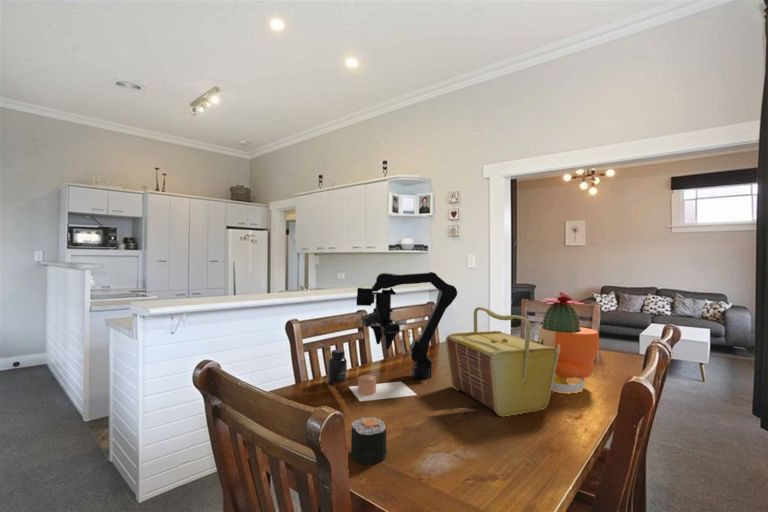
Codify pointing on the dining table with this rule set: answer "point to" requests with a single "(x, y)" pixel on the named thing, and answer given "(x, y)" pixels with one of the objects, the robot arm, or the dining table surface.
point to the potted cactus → (568, 342)
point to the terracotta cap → (366, 385)
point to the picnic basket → (502, 368)
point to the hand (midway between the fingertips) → (382, 346)
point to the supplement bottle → (337, 367)
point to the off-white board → (385, 391)
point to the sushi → (368, 440)
